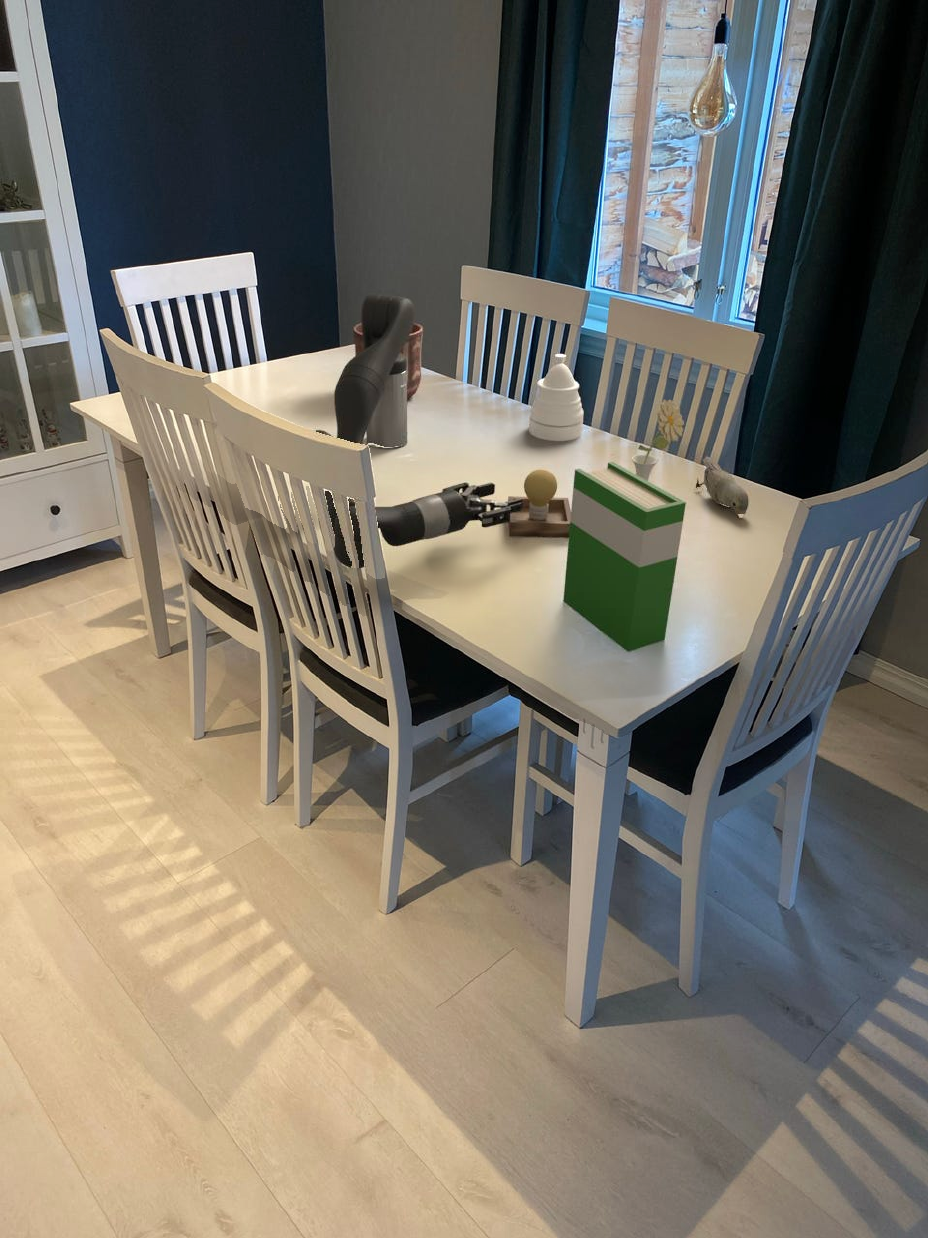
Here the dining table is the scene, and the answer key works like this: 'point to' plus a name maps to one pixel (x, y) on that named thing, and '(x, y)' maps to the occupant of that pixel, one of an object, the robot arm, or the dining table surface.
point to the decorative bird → (723, 487)
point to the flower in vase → (660, 437)
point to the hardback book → (622, 554)
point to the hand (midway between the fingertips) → (507, 495)
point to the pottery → (409, 351)
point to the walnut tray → (550, 527)
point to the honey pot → (557, 405)
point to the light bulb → (540, 493)
